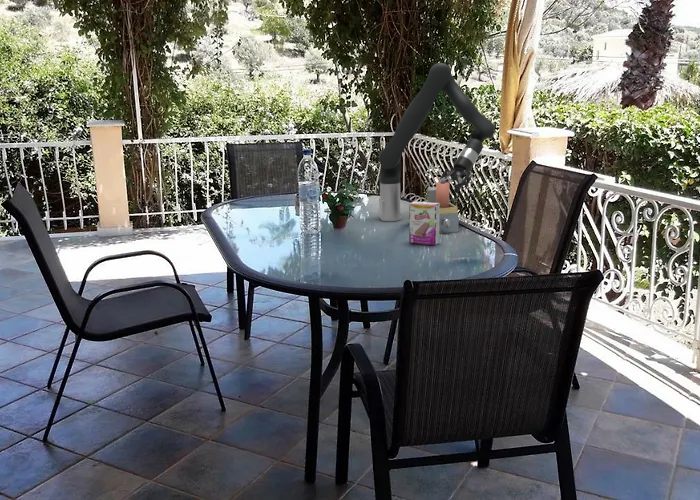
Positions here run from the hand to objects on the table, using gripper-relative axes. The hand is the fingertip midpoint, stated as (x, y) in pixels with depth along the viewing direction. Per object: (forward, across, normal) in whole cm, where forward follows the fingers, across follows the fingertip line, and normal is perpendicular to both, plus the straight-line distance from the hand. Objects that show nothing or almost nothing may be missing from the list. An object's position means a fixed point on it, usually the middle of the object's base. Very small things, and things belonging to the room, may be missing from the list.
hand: (447, 190), depth 277 cm
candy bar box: (+30, +10, -6) cm, 32 cm away
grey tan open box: (+14, 0, +9) cm, 17 cm away
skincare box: (+8, -11, +16) cm, 21 cm away
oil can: (+8, 0, +4) cm, 9 cm away
